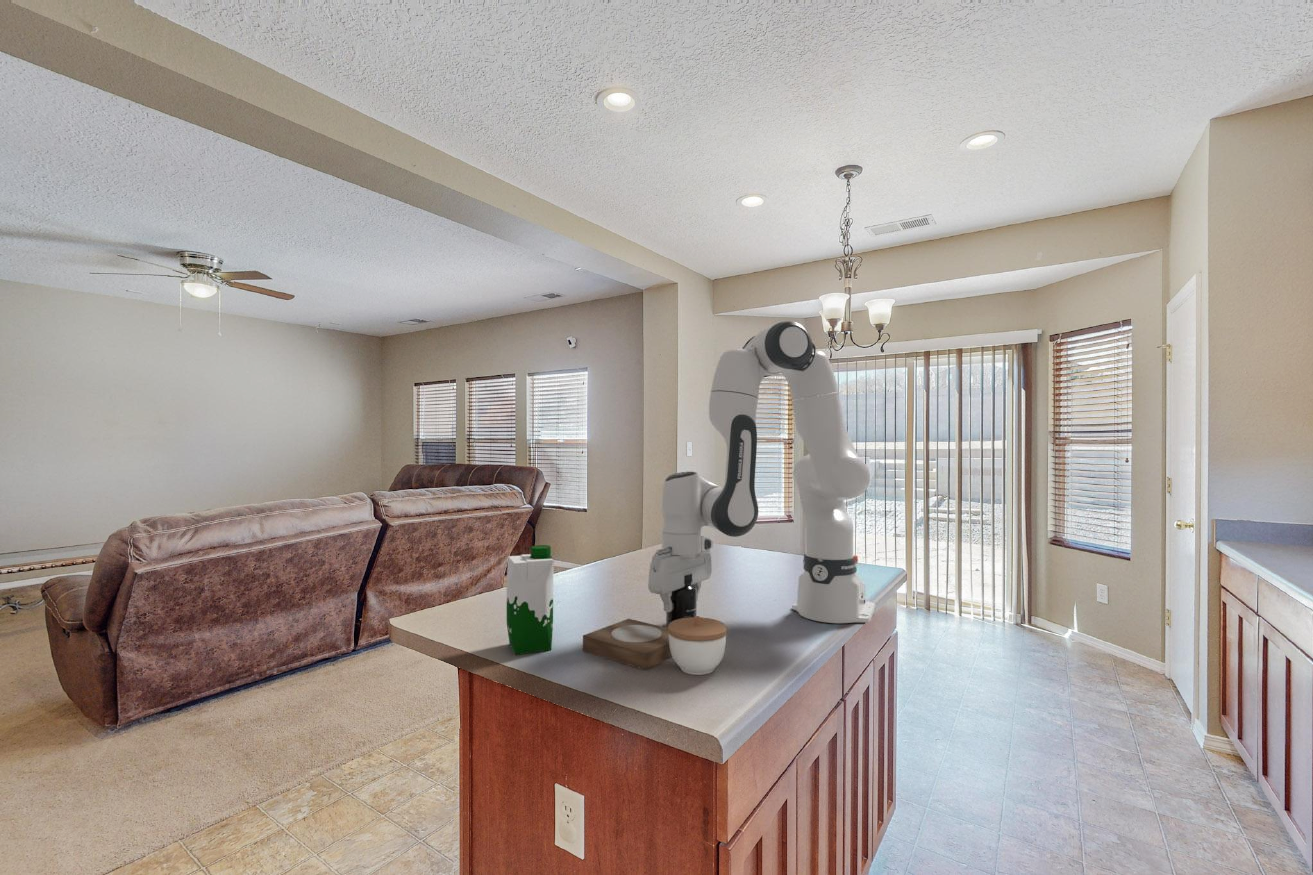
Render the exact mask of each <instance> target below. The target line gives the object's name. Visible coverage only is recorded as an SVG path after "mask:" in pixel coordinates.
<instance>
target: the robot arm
mask: <svg viewBox="0 0 1313 875" xmlns="http://www.w3.org/2000/svg"><path fill="white" fill-rule="evenodd" d="M780 374H781V375H782V376H783V377H784V378H785V380H786V382H787V385H788V386H789V392H790V399H791V405H792V410H793V411H792V412H793V418H794V421H795V422H794V423H795V427H796V431H797V434H798V436H799V437H800V438H801V440H802V441H803V443H804V446H805V448H806V450H807V453H808V454H806V455H804V456H802V457H801V458H799V459H798V461H796V462H795V465H794V466H793V471H792V476H793V480H794V482H795V484H796V486H797V488H798V493H799V497H800V502H801V507H802V512H803V520H804V530H805V532H804V535H805V536H804V538H805V539H804V540H805V543H804V544H805V546H804V547H805V548H804V549H805V553H804V554H803V560H802V565H803V570H804V571H803V573H801V574H800V575H799V576H798V578H797V580H798V582H797V593H796V594H797V596H796V602H795V603H794V602H793V603H792V604H791V609H792V610H794V611H796V612H798V614H799V615H800V616H801V617H803V618H805V619H808V620H812V621H815V622H819V623H821V622H822V623H830V624H849V623H851V624H852V623H871V621H872V617H873V614H874V612H875V610H876V603H875V602H872V601H869V600H867V598H866V596H867V595H866V591H867V590H866V584H865V583H864V582H863V580H862V579H861V577H860V576H859V575H858V574H857V564H858V563H859V557H858V555H857V554H856V555H855V554H854V525H853V521H852V519H851V517H849V514H848V511H847V508H846V504H845V501H847V500H852V499H855V498H858V497H860V496H862V495H863V494H864V493H865V492H866V490H867V489H868V488H869V485H870V481H871V473H870V470H869V468H868V466H867V464H866V463H865V462H864V460H862V458H860V456H859V454H858V453H857V451H856V448H855V446H854V443H853V441H852V440H851V437H850V434H849V432H848V430H847V427H846V424H845V423H846V422H845V418H844V415H843V410H842V405H841V400H840V392H839V389H838V384H837V379H836V376H835V373H834V369H833V367H832V364H831V361H830V358H829V357H828V356H827V354H826V353H825V352H824V351H821V350H816V346H815V344H814V342H813V340H812V337H811V335H810V334H809V332H808V330H807V329H806V328H805V327H804V325H802V324H801V323H798V322H796V321H789V320H788V321H787V320H786V321H780V322H778V323H775V324H773V325H771V326H768V327H766V328H764V329H762V330H761V331H759V332H758V333H757V334H756V335H754V336H752V337H751V338H750V339H748V340H747V341H746V343H744V345H743V347H742V348H737V347H736V348H731V349H728V350H726V351H724V352H723V353H722V354H721V356H720V358H719V360H718V362H717V366H716V369H715V371H714V374H713V378H712V379H713V380H712V383H711V384H712V385H711V389H710V396H709V403H708V417H709V421H710V423H711V424H712V426H713V427H714V428H715V430H716V431H718V432H719V433H720V435H721V436H722V438H723V439H724V441H725V444H726V451H727V452H726V463H725V477H724V485H723V486H721V485H719V484H715V483H713V482H711V481H709V480H708V479H705V478H703V477H702V476H700V475H699V474H698V472H696V471H685V472H684V471H682V472H677V473H673V474H671V475H669V476H668V477H666V478H665V480H664V483H663V488H662V496H661V514H662V518H663V523H662V527H661V549H657V550H656V551H655V553H654V554H653V556H652V557H651V561H650V564H649V569H648V583H647V584H648V585H647V587H648V588H647V589H648V591H649V592H650V593H651V594H655V595H659V597H660V599H661V601H662V603H663V611H664V612H665V613H666V612H671V611H673V610H674V603H672V602H671V598H670V596H672V591H675V590H678V589H680V588H683V587H684V586H685V584H684V576H685V575H689V574H692V580H693V582H692V583H691V584H692V585H693V586H695V588H696V590H697V602H698V601H699V593H700V590H701V588H702V582H704V581H706V580H709V579H710V578H711V576H712V572H713V553H712V550H711V549H713V545H714V543H713V539H711V538H709V537H705V536H704V535H702V528H703V527H710V528H712V529H713V530H717V531H719V532H721V533H722V534H724V535H726V536H728V537H733V538H734V537H735V538H737V537H741V536H744V535H746V534H747V533H749V532H750V531H751V530H752V529H753V528H754V527H755V525H756V523H757V520H758V517H759V504H758V500H757V496H756V490H755V483H756V482H755V481H756V467H757V466H756V465H757V450H758V449H757V448H758V432H757V422H756V421H757V410H758V404H759V401H758V400H759V394H760V386H761V383H762V380H763V378H767V377H771V376H775V375H780Z"/></svg>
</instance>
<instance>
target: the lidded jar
mask: <svg viewBox="0 0 1313 875" xmlns="http://www.w3.org/2000/svg"><path fill="white" fill-rule="evenodd" d="M667 628H668V633H669V647H670V651H671V655H672V657H671V658H672V659H673V661H674V662H675V663H676V665H677V666H679V668H680V671H682V673H685V674H688V675H693V676H703V675H708V674H711V673H713V672H714V670H715V669H716V667H718V666H719V665H720V663H721V662H722V660H723V658H724V656H725V652H726V646H727V634H728V633H727V632H728V631H727V630H728V627H727V625H726V624H725V623H724V622H722V621H721V620H717V619H713V618H709V617H701V616H700V615H696V616H695V617H690V618H682V619H677V620H674V621H672V622H671V623H670V624H669V625H668V627H667Z"/></svg>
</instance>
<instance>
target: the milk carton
mask: <svg viewBox="0 0 1313 875" xmlns="http://www.w3.org/2000/svg"><path fill="white" fill-rule="evenodd" d="M551 547H552V546H550V545H547V544H546V545H545V544H544V545H543V544H541V545H540V544H539V545H531V547H530V553H529V554H528V553H527V554H520V555H511V556H509V555H508V557H507V568H506V628H507V636H508V642H509V646H510V648H511V649H512V651H513V654H514V655H515V656H518V655H517V654H519V655H526V654H532V653H540V652H547V651H552V648H553V647H552V646H553V644H552V643H553V631H554V630H553V628H554V570H555V569H554V567H555V566H554V565H555V563H554V562H555V561H554V558H553V557H552V553H551V552H552V551H551V550H552V549H551Z"/></svg>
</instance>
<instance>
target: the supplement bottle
mask: <svg viewBox="0 0 1313 875" xmlns="http://www.w3.org/2000/svg"><path fill="white" fill-rule="evenodd" d="M692 582H693V580H692V574H689V575H685V576H684V584H685V586H684V587H683V588H680V589H678V590H675V591H672V596H670V598H671V602H672V603H674V610H673V611H671V612H666V611H665V613H666V614H665V616H666V617H665V626H666V628H668V625H669V624H670V623H671V622H672V621H674V620H677V619H682V618H690V617H695V616H698V614H697V611H698V610H697V608H698V607H697V606H698V605H697V603H698V601H697V590H696V588H695V586H693V585H692V584H691V583H692Z"/></svg>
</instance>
